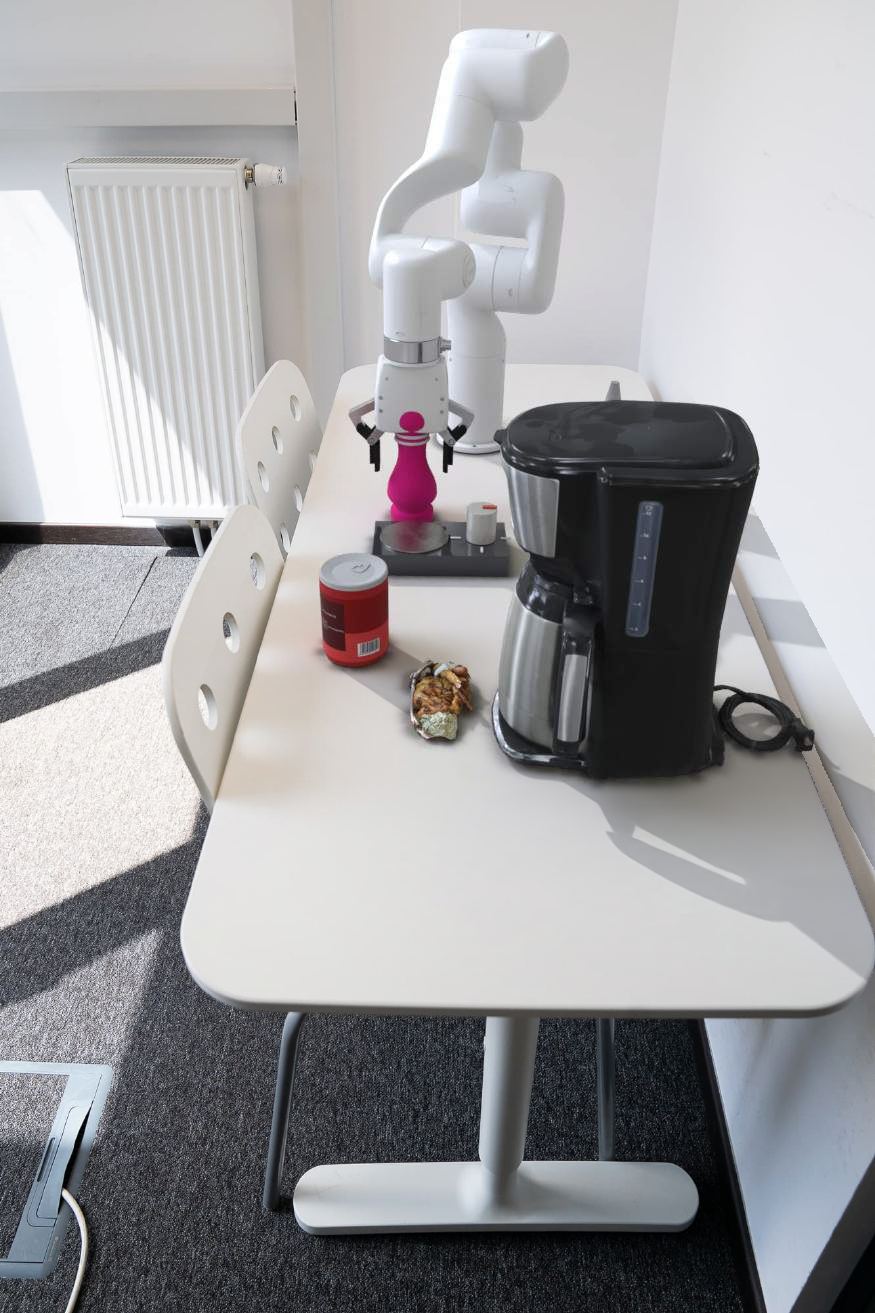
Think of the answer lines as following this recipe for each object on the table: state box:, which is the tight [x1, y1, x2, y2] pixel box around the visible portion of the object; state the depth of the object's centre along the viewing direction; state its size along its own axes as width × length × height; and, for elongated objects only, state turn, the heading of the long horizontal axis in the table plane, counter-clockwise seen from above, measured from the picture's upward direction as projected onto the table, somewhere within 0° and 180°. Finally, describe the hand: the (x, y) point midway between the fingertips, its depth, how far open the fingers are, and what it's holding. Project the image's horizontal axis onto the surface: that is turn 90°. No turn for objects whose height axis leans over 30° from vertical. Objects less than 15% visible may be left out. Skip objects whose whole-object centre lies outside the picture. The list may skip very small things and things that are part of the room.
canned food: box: [318, 552, 390, 668], centre depth 118 cm, size 8×8×11 cm
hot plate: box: [371, 520, 512, 577], centre depth 140 cm, size 19×10×3 cm, turn 90°
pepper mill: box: [386, 411, 438, 522], centre depth 145 cm, size 7×7×20 cm
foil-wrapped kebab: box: [408, 657, 474, 740], centre depth 111 cm, size 7×12×4 cm, turn 2°
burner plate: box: [380, 521, 448, 554], centre depth 139 cm, size 9×9×1 cm
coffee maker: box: [491, 399, 816, 781], centre depth 101 cm, size 23×32×34 cm
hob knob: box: [466, 501, 498, 545], centre depth 138 cm, size 4×4×5 cm
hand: (411, 468), depth 146 cm, fingers open, 9 cm apart
